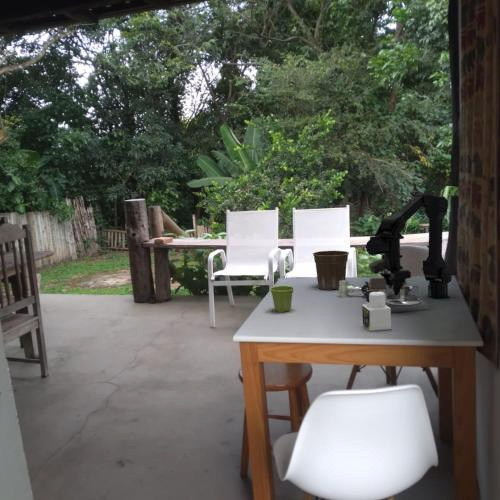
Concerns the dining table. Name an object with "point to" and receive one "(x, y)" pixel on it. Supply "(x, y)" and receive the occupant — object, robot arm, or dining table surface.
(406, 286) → the cylinder
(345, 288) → the valve
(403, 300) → the dial scale
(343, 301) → the dining table surface
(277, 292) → the plant pot
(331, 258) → the plant pot
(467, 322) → the dining table surface
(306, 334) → the dining table surface
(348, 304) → the dining table surface
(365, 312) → the medicine bottle
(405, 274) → the robot arm
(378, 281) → the hardcover book
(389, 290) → the steel spacer
